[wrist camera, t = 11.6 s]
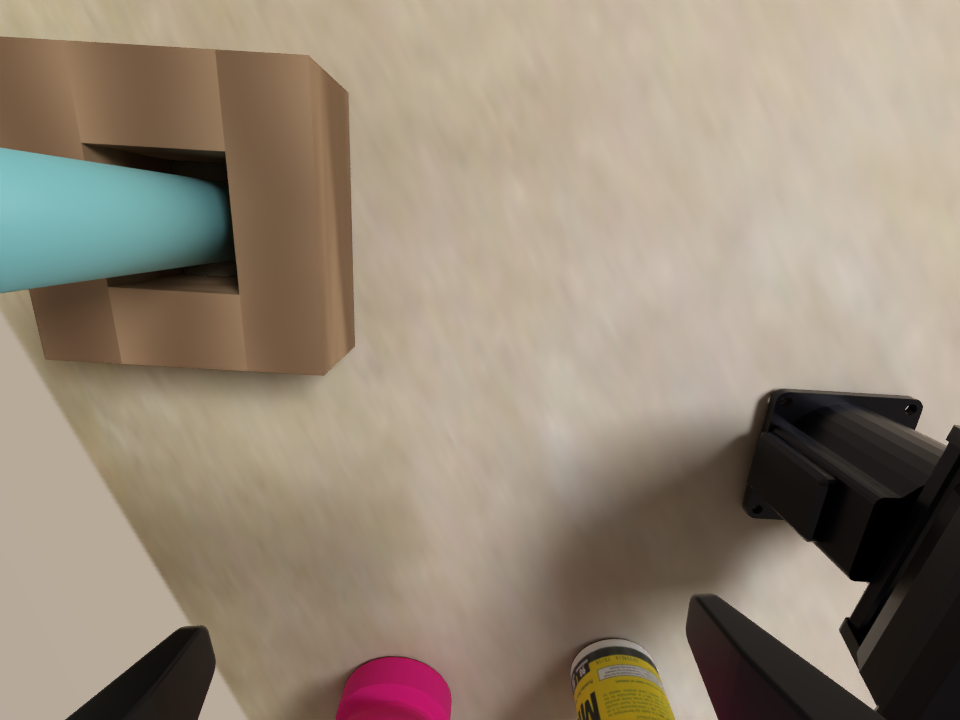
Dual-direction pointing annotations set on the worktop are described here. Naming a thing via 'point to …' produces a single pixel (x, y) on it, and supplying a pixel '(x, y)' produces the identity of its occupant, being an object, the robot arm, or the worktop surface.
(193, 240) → the peg
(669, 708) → the supplement bottle
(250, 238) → the socket block
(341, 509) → the worktop surface
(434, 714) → the pepper mill
